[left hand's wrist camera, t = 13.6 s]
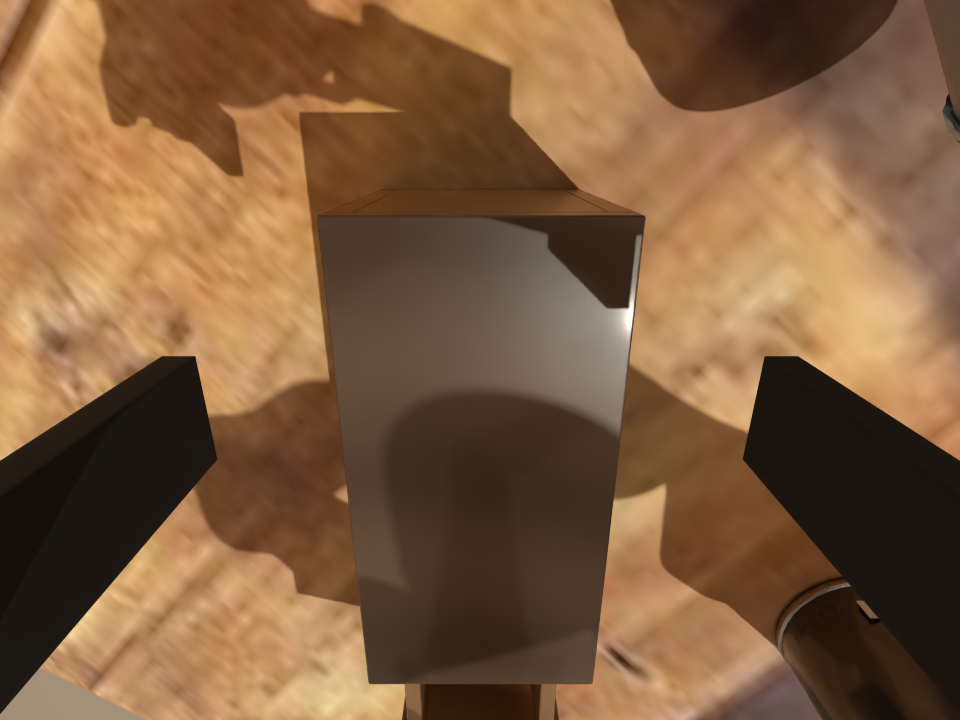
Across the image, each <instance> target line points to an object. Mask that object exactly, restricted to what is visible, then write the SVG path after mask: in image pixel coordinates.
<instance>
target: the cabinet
mask: <svg viewBox="0 0 960 720" xmlns="http://www.w3.org/2000/svg"><path fill="white" fill-rule="evenodd" d="M317 222H318V231H319V240H320V249H321V258H322V267H323V276H324V285H325V294H326V303H327V312H328V321H329V330H330V339H331V348H332V357H333V366H334V375H335V384H336V393H337V402H338V411H339V420H340V429H341V438H342V447H343V456H344V465H345V474H346V483H347V492H348V501H349V510H350V519H351V528H352V537H353V546H354V555H355V564H356V573H357V582H358V591H359V600H360V609H361V618H362V627H363V637H364V646H365V655H366V664H367V673H368V682H369V684H592V683H593V675H594V666H595V657H596V649H597V640H598V631H599V622H600V613H601V605H602V596H603V587H604V578H605V569H606V561H607V552H608V543H609V534H610V525H611V517H612V508H613V499H614V490H615V481H616V473H617V464H618V455H619V446H620V437H621V429H622V420H623V411H624V402H625V393H626V385H627V376H628V367H629V358H630V349H631V341H632V332H633V323H634V314H635V305H636V297H637V288H638V279H639V270H640V261H641V253H642V244H643V235H644V226H645V216H644V215H641V214H639V213H636V212H634V211H631V210H629V209H626V208H624V207H621V206H619V205H616V204H614V203H611V202H609V201H606V200H604V199H601V198H599V197H596V196H594V195H591V194H589V193H587V192H584V191H582V190H411V189H382V190H379V191H377V192H375V193H373V194H370V195H368V196H365V197H363V198H360V199H358V200H355V201H353V202H350V203H348V204H345V205H343V206H340V207H338V208H336V209H333V210H331V211H328V212H326V213H323V214H321V215H318V216H317Z"/></svg>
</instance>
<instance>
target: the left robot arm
mask: <svg viewBox="0 0 960 720" xmlns="http://www.w3.org/2000/svg"><path fill="white" fill-rule="evenodd" d="M924 3H925V6H926V9H927V13H928V16H929V20H930V23H931V27H932V30H933V34H934V38H935V42H936V45H937V49H938V53H939V57H940V61H941V64H942V68H943V72H944V76H945V80H946V83H947V87H948V91H949V94H948V96H947V99H946V105H945V107H944V108H943V110H942V112H943V116H944V120H945V123H946V126H947V129H948V131H949V133H950V134H951V135H952V136H953V137H954V139H955V140H956V141H957V142H958V143H960V0H924ZM216 460H217V456H216V451H215V446H214V442H213V437H212V432H211V428H210V423H209V418H208V414H207V409H206V404H205V400H204V395H203V390H202V386H201V381H200V376H199V372H198V367H197V362H196V358H195V356H162V357H160V358H159V359H157V360H155V361H154V362H152V363H151V364H149V365H148V366H146V367H145V368H143V369H142V370H140V371H138V372H137V373H135V374H134V375H132V376H131V377H129V378H128V379H126V380H125V381H123V382H121V383H120V384H118V385H117V386H115V387H114V388H112V389H111V390H109V391H108V392H106V393H104V394H103V395H101V396H100V397H98V398H97V399H95V400H94V401H92V402H90V403H89V404H87V405H86V406H84V407H83V408H81V409H80V410H78V411H77V412H75V413H73V414H72V415H70V416H69V417H67V418H66V419H64V420H63V421H61V422H60V423H58V424H56V425H55V426H53V427H52V428H50V429H49V430H47V431H46V432H44V433H43V434H41V435H39V436H38V437H36V438H35V439H33V440H32V441H30V442H29V443H27V444H25V445H24V446H22V447H21V448H19V449H18V450H16V451H15V452H13V453H12V454H10V455H8V456H7V457H5V458H4V459H2V460H1V461H0V714H1V712H2V711H3V710H4V709H5V708H6V707H7V705H8V704H9V703H10V702H11V701H12V699H13V698H14V697H15V696H16V695H17V694H18V692H19V691H20V690H21V689H22V688H23V686H24V685H25V684H26V683H27V682H28V681H29V680H30V678H31V677H32V676H33V675H34V674H35V672H36V671H37V670H38V669H39V668H40V667H41V665H42V664H43V663H44V662H45V661H46V660H47V658H48V657H49V656H50V655H51V654H52V653H53V651H54V650H55V649H56V648H57V647H58V645H59V644H60V643H61V642H62V641H63V640H64V638H65V637H66V636H67V635H68V634H69V633H70V631H71V630H72V629H73V628H74V627H75V626H76V624H77V623H78V622H79V621H80V620H81V619H82V617H83V616H84V615H85V614H86V613H87V611H88V610H89V609H90V608H91V607H92V606H93V604H94V603H95V602H96V601H97V600H98V599H99V597H100V596H101V595H102V594H103V593H104V592H105V590H106V589H107V588H108V587H109V586H110V584H111V583H112V582H113V581H114V580H115V579H116V577H117V576H118V575H119V574H120V573H121V572H122V570H123V569H124V568H125V567H126V566H127V565H128V563H129V562H130V561H131V560H132V559H133V557H134V556H135V555H136V554H137V553H138V552H139V550H140V549H141V548H142V547H143V546H144V545H145V543H146V542H147V541H148V540H149V539H150V538H151V536H152V535H153V534H154V533H155V532H156V530H157V529H158V528H159V527H160V526H161V525H162V523H163V522H164V521H165V520H166V519H167V518H168V516H169V515H170V514H171V513H172V512H173V511H174V509H175V508H176V507H177V506H178V505H179V503H180V502H181V501H182V500H183V499H184V498H185V496H186V495H187V494H188V493H189V492H190V491H191V489H192V488H193V487H194V486H195V485H196V484H197V482H198V481H199V480H200V479H201V478H202V476H203V475H204V474H205V473H206V472H207V471H208V469H209V468H210V467H211V466H212V465H213V464H214V462H215V461H216ZM743 460H744V461H745V462H746V464H747V465H748V466H749V467H750V468H751V469H752V471H753V472H754V473H755V474H756V475H757V476H758V478H759V479H760V480H761V481H762V482H763V484H764V485H765V486H766V487H767V488H768V489H769V491H770V492H771V493H772V494H773V495H774V496H775V498H776V499H777V500H778V501H779V502H780V503H781V505H782V506H783V507H784V508H785V509H786V511H787V512H788V513H789V514H790V515H791V516H792V518H793V519H794V520H795V521H796V522H797V523H798V525H799V526H800V527H801V528H802V529H803V530H804V532H805V533H806V534H807V535H808V536H809V538H810V539H811V540H812V541H813V542H814V543H815V545H816V546H817V547H818V548H819V549H820V550H821V552H822V553H823V554H824V555H825V556H826V557H827V559H828V560H829V561H830V562H831V563H832V565H833V566H834V567H835V568H836V569H837V570H838V572H839V573H840V574H841V575H842V576H843V577H844V579H845V580H846V581H847V582H848V583H849V584H850V586H851V587H852V588H853V589H854V590H855V592H856V593H857V594H858V595H859V596H860V597H861V599H862V600H863V601H864V602H865V603H866V604H867V606H868V607H869V608H870V609H871V610H872V611H873V613H874V614H875V615H876V616H877V617H878V619H879V620H880V621H881V622H882V623H883V624H884V626H885V627H886V628H887V629H888V630H889V631H890V633H891V634H892V635H893V636H894V637H895V638H896V640H897V641H898V642H899V643H900V644H901V645H902V647H903V648H904V649H905V650H906V651H907V653H908V654H909V655H910V656H911V657H912V658H913V660H914V661H915V662H916V663H917V664H918V665H919V667H920V668H921V669H922V670H923V671H924V672H925V674H926V675H927V676H928V677H929V678H930V680H931V681H932V682H933V683H934V684H935V685H936V687H937V688H938V689H939V690H940V691H941V692H942V694H943V695H944V696H945V697H946V698H947V699H948V701H949V702H950V703H951V704H952V705H953V707H954V708H955V709H956V710H957V711H958V712H959V714H960V461H959V460H958V459H956V458H955V457H953V456H952V455H950V454H948V453H947V452H945V451H944V450H942V449H941V448H939V447H938V446H936V445H934V444H933V443H931V442H930V441H928V440H927V439H925V438H924V437H922V436H921V435H919V434H917V433H916V432H914V431H913V430H911V429H910V428H908V427H907V426H905V425H904V424H902V423H900V422H899V421H897V420H896V419H894V418H893V417H891V416H890V415H888V414H887V413H885V412H883V411H882V410H880V409H879V408H877V407H876V406H874V405H873V404H871V403H870V402H868V401H866V400H865V399H863V398H862V397H860V396H859V395H857V394H856V393H854V392H852V391H851V390H849V389H848V388H846V387H845V386H843V385H842V384H840V383H839V382H837V381H835V380H834V379H832V378H831V377H829V376H828V375H826V374H825V373H823V372H822V371H820V370H818V369H817V368H815V367H814V366H812V365H811V364H809V363H808V362H806V361H805V360H803V359H801V358H800V357H798V356H765V358H764V362H763V367H762V372H761V376H760V381H759V386H758V390H757V395H756V400H755V404H754V409H753V414H752V418H751V423H750V428H749V432H748V437H747V442H746V446H745V451H744V456H743Z"/></svg>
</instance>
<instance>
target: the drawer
mask: <svg viewBox="0 0 960 720" xmlns="http://www.w3.org/2000/svg"><path fill="white" fill-rule="evenodd" d="M402 720H559V717H558V710H557V703H556V684H405V701H404V709H403V716H402Z"/></svg>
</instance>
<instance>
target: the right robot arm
mask: <svg viewBox="0 0 960 720" xmlns="http://www.w3.org/2000/svg"><path fill="white" fill-rule="evenodd" d="M776 643H777V646H778V649H779V651H780V652H781V654H782V656H783V657H784V659H785V661H786V662H787V663H788V664H789V665H790V666H791V668H792V670H793V671H794V673H795V675H796V676H797V678H798V680H799V681H800V683H801V685H802V686H803V688H804V690H805V691H806V693H807V695H808V696H809V698H810V700H811V702H812V703H813V705H814V707H815V708H816V710H817V712H818V713H819V715H820V717H821V718H822V720H960V714H959V712H958V711H957V710H956V709H955V708H954V707H953V705H952V704H951V703H950V702H949V701H948V699H947V698H946V697H945V696H944V695H943V694H942V692H941V691H940V690H939V689H938V688H937V687H936V685H935V684H934V683H933V682H932V681H931V680H930V678H929V677H928V676H927V675H926V674H925V672H924V671H923V670H922V669H921V668H920V667H919V665H918V664H917V663H916V662H915V661H914V660H913V658H912V657H911V656H910V655H909V654H908V653H907V651H906V650H905V649H904V648H903V647H902V645H901V644H900V643H899V642H898V641H897V640H896V638H895V637H894V636H893V635H892V634H891V633H890V631H889V630H888V629H887V628H886V627H885V626H884V624H883V623H882V622H881V621H880V620H879V619H878V617H877V616H876V615H875V614H874V613H873V611H872V610H871V609H870V608H869V607H868V606H867V604H866V603H865V602H864V601H863V600H862V599H861V597H860V596H859V595H858V594H857V593H856V592H855V590H854V589H853V588H852V587H851V586H850V584H849V583H848V582H847V581H846V580H845V579H839V580H835V581H831V582H828V583H825V584H822V585H820V586H817V587H815V588H813V589H811V590H809V591H808V592H806V593H804V594H803V595H802V596H800V597H799V598H797V599H796V600H795V601H794V602H793V603H792V604H791V605H790V606H789V607H788V608H787V609H786V611H785V612H784V613H783V615H782V617H781V618H780V620H779V623H778V626H777V629H776Z"/></svg>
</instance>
